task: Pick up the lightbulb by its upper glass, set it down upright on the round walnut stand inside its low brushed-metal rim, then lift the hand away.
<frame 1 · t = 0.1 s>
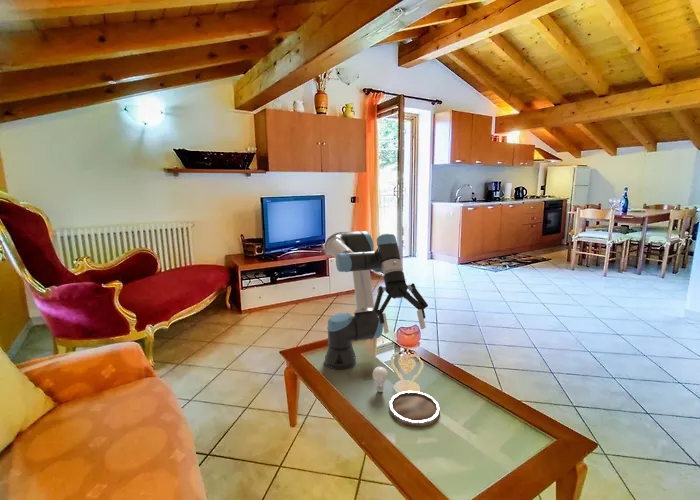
hand: (405, 330, 123), 36 cm above the table, tool tilted 35°, fingers open, 13 cm apart
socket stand: (414, 409, 136), on the table
lightbulb: (380, 392, 148), on the table
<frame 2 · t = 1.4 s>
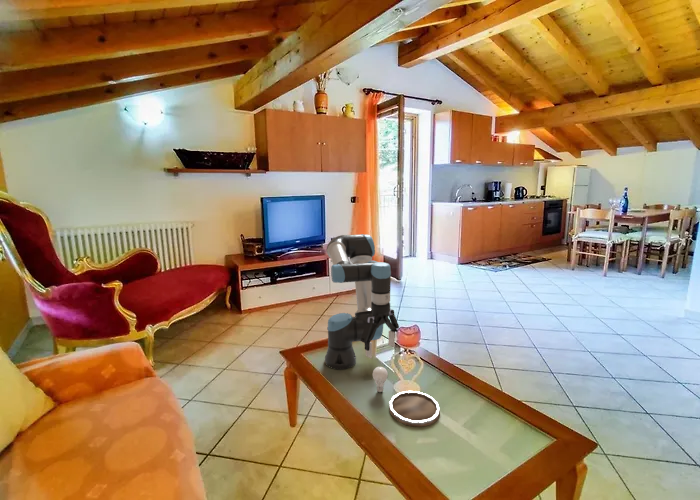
hand: (380, 351, 144), 18 cm above the table, tool pointing down, fingers open, 13 cm apart
nothing on the table moved.
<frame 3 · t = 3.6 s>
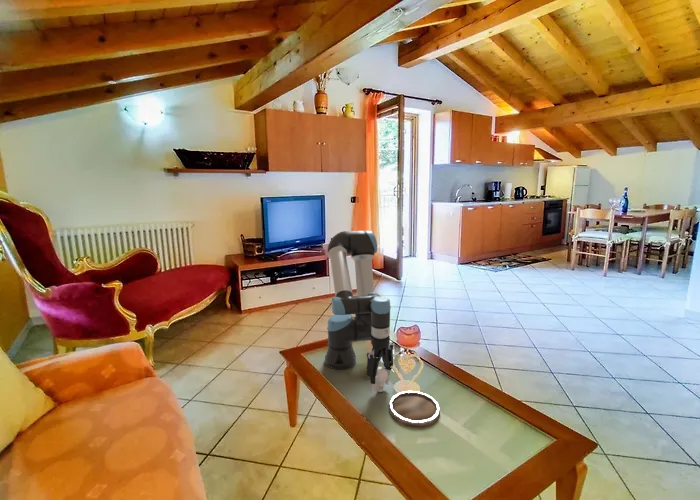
hand: (380, 386, 147), 2 cm above the table, tool pointing down, fingers closed on lightbulb, 6 cm apart
lightbulb: (380, 392, 148), on the table, touching gripper
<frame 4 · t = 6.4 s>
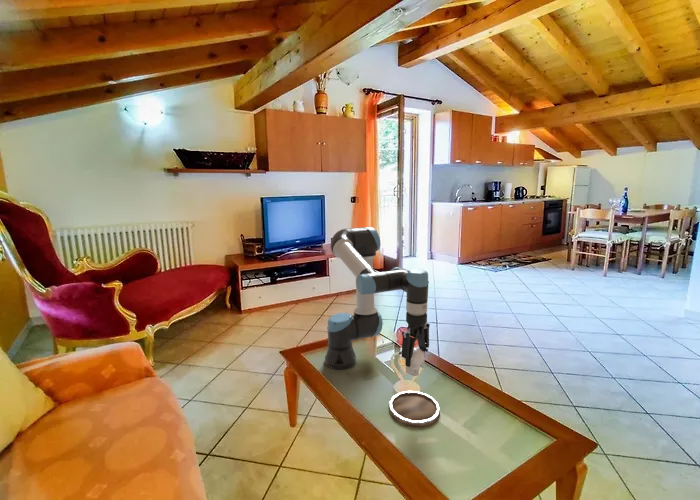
hand: (415, 369, 133), 17 cm above the table, tool pointing down, fingers closed on lightbulb, 6 cm apart
lightbulb: (414, 376, 133), point 14 cm above the table, touching gripper
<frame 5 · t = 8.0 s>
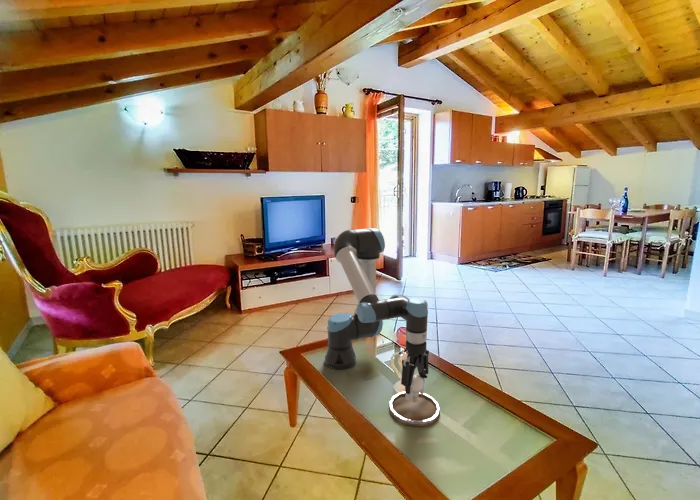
hand: (414, 396, 135), 6 cm above the table, tool pointing down, fingers closed on lightbulb, 6 cm apart
lightbulb: (414, 402, 135), point 3 cm above the table, touching gripper
when the fingers open (4 cm above the table, at t = 9.3 s): lightbulb stays where it is, resting on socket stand.
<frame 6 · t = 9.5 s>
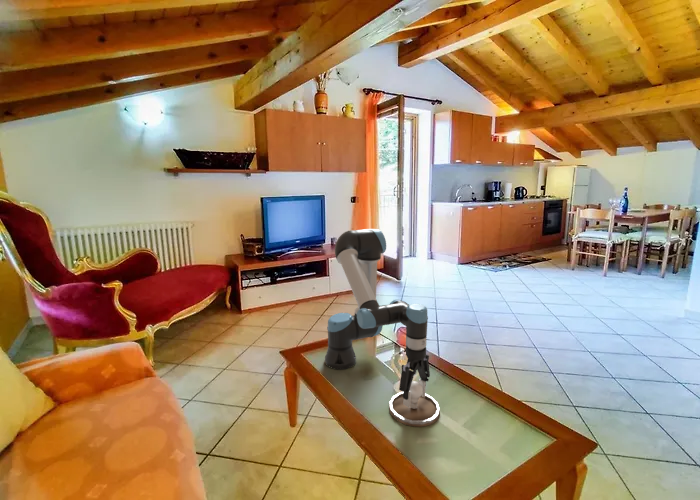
hand: (414, 400, 135), 4 cm above the table, tool pointing down, fingers open, 8 cm apart
lightbulb: (413, 408, 136), point 1 cm above the table, touching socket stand
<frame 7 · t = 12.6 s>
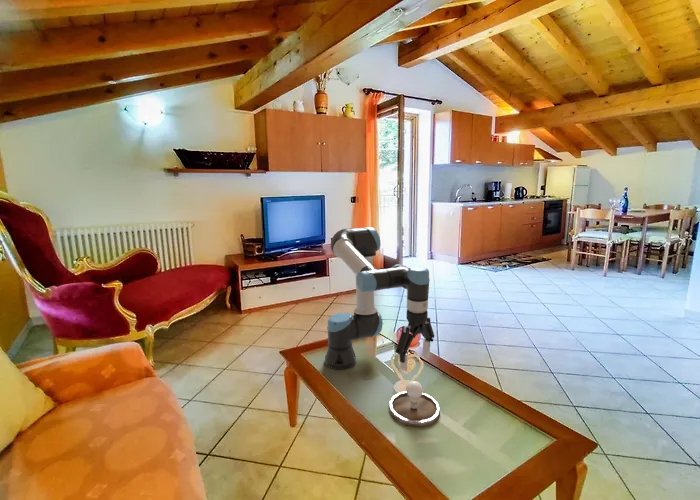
hand: (415, 362, 132), 20 cm above the table, tool pointing down, fingers open, 13 cm apart
nothing on the table moved.
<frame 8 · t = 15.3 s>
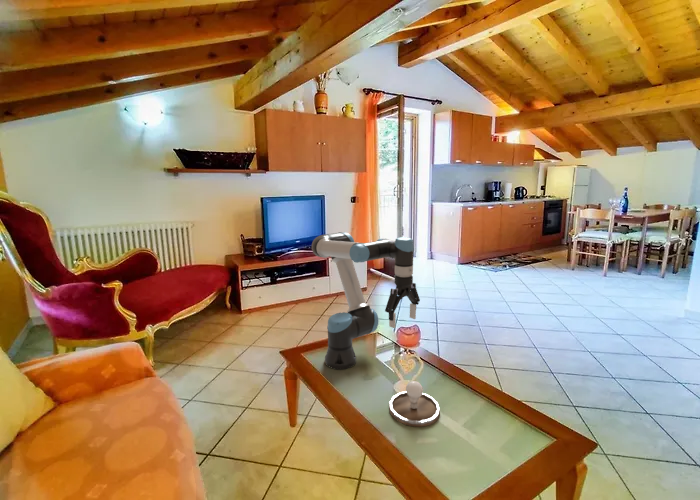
hand: (402, 322, 152), 27 cm above the table, tool pointing down, fingers open, 13 cm apart
nothing on the table moved.
at the end: lightbulb 0.2 cm off-centre on the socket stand, point 0.6 cm above the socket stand's base; lightbulb tilted 0°; the gripper is holding nothing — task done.
